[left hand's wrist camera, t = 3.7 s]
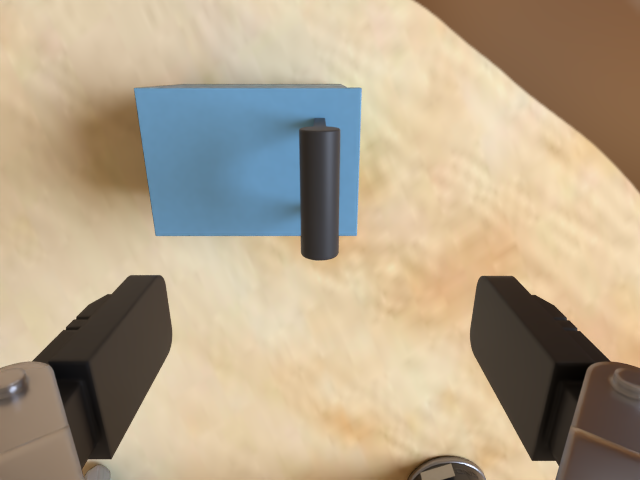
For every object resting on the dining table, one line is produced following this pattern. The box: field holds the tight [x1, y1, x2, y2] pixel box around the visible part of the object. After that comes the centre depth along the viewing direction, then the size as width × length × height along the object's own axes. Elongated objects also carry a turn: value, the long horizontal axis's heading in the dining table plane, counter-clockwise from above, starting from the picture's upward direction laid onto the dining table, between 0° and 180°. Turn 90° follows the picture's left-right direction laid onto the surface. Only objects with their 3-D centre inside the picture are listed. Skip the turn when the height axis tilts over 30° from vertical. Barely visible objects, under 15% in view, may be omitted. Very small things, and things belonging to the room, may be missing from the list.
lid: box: [134, 88, 362, 260], centre depth 25 cm, size 14×10×9 cm
